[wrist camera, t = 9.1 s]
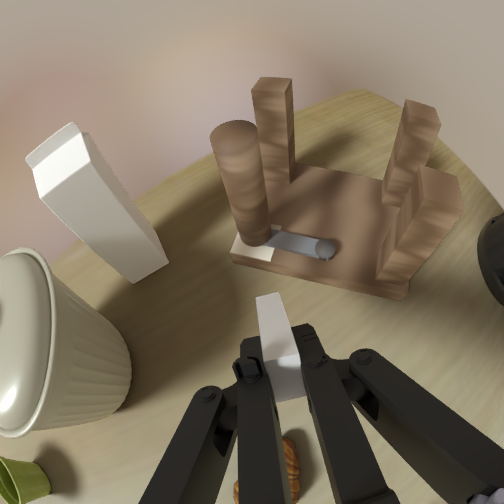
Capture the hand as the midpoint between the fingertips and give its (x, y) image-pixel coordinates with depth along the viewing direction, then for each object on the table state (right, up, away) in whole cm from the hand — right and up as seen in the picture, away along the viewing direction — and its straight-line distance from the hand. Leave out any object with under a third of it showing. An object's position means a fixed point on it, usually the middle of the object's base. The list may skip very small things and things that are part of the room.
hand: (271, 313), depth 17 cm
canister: (-21, -11, +12) cm, 27 cm away
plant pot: (-35, -32, +2) cm, 48 cm away
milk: (-16, +3, +19) cm, 25 cm away
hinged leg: (+3, +5, +14) cm, 15 cm away
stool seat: (+9, +7, +17) cm, 21 cm away
